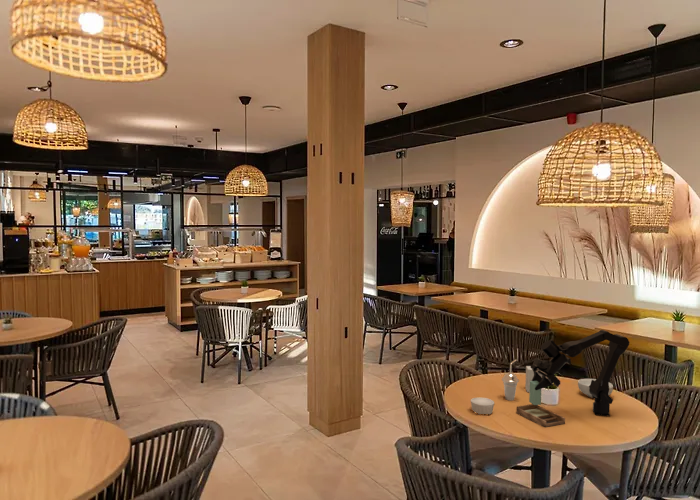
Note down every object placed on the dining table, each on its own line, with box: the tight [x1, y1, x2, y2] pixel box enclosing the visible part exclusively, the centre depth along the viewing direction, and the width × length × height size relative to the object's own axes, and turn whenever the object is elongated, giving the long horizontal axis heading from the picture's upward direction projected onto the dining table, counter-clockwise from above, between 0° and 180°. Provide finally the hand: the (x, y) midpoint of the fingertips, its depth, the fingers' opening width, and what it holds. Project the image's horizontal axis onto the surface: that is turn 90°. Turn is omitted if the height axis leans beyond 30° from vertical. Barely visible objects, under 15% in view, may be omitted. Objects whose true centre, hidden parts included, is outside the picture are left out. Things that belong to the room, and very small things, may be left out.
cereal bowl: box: [577, 378, 614, 399], centre depth 275 cm, size 17×17×7 cm
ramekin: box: [470, 397, 495, 415], centre depth 250 cm, size 11×11×5 cm
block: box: [528, 381, 542, 406], centre depth 245 cm, size 4×4×10 cm
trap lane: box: [515, 403, 566, 428], centre depth 242 cm, size 18×12×3 cm, turn 23°
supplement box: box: [524, 365, 534, 393], centre depth 282 cm, size 7×7×13 cm
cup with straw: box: [501, 359, 520, 401], centre depth 268 cm, size 8×9×20 cm
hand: (532, 387), depth 245 cm, fingers closed on block, 4 cm apart
